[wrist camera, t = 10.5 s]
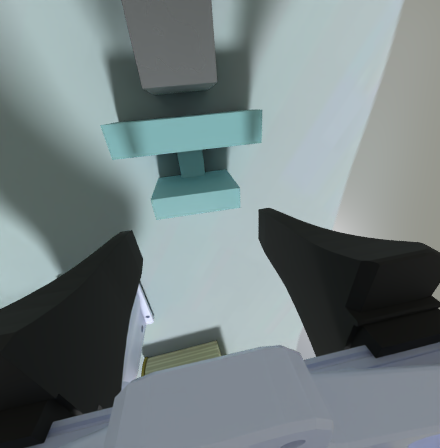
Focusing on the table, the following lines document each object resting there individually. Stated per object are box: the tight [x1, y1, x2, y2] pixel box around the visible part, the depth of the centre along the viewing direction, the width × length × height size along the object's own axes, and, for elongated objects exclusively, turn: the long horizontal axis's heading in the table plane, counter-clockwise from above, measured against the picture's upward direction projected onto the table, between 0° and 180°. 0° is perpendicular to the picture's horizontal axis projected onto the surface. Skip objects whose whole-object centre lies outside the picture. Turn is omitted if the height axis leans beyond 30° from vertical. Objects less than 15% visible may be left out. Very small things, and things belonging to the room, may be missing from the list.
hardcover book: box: [141, 340, 221, 377], centre depth 35 cm, size 12×21×4 cm, turn 9°
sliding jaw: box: [100, 110, 262, 220], centre depth 15 cm, size 6×10×5 cm, turn 94°
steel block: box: [121, 0, 217, 95], centre depth 11 cm, size 6×4×5 cm, turn 5°
